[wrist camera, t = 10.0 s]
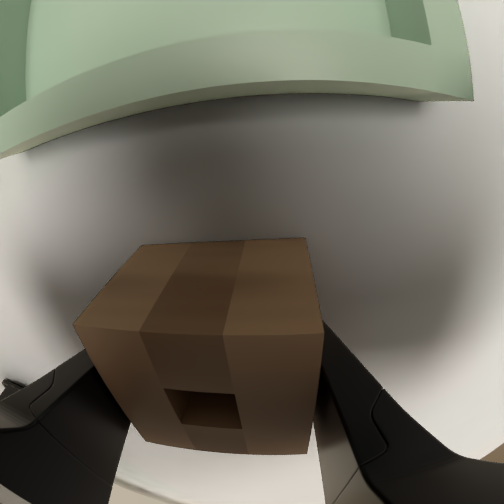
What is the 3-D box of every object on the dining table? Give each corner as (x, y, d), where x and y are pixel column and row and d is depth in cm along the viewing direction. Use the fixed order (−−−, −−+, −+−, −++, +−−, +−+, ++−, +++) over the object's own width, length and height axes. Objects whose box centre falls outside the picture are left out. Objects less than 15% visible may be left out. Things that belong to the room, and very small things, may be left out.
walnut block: (302, 360, 10) (306, 454, 7) (175, 358, 11) (145, 441, 7) (304, 237, 8) (324, 333, 5) (142, 245, 9) (72, 324, 5)
